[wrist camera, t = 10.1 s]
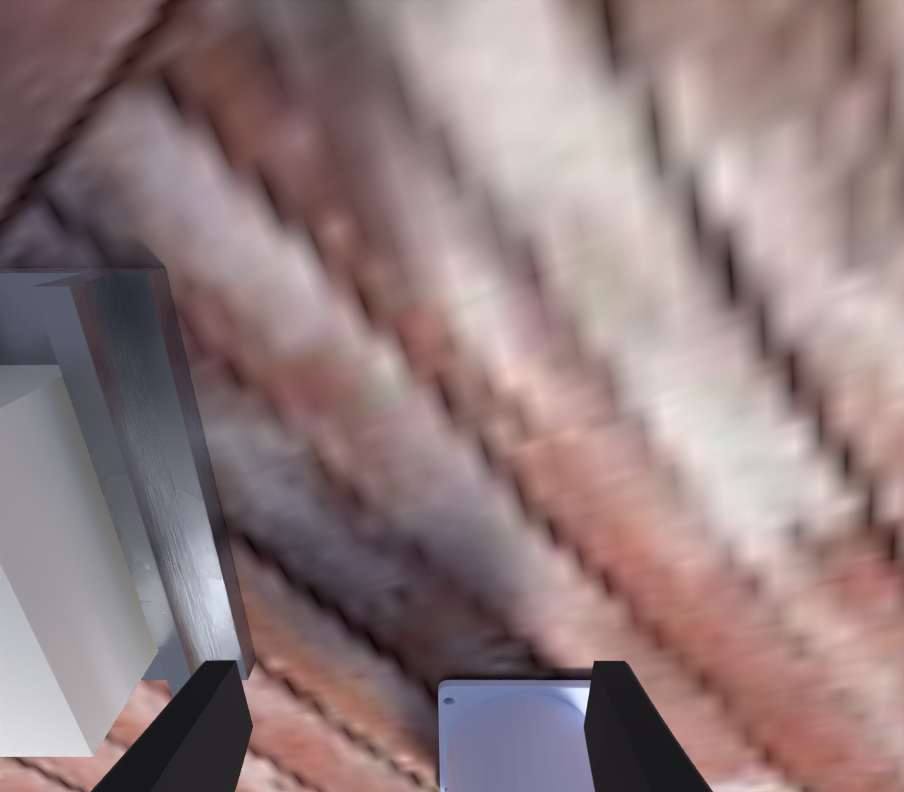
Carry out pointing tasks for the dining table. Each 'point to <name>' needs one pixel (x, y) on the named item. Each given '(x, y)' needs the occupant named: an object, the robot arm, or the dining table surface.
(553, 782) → the robot arm
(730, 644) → the dining table surface
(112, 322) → the grey u-channel tray
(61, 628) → the grey metal bar
